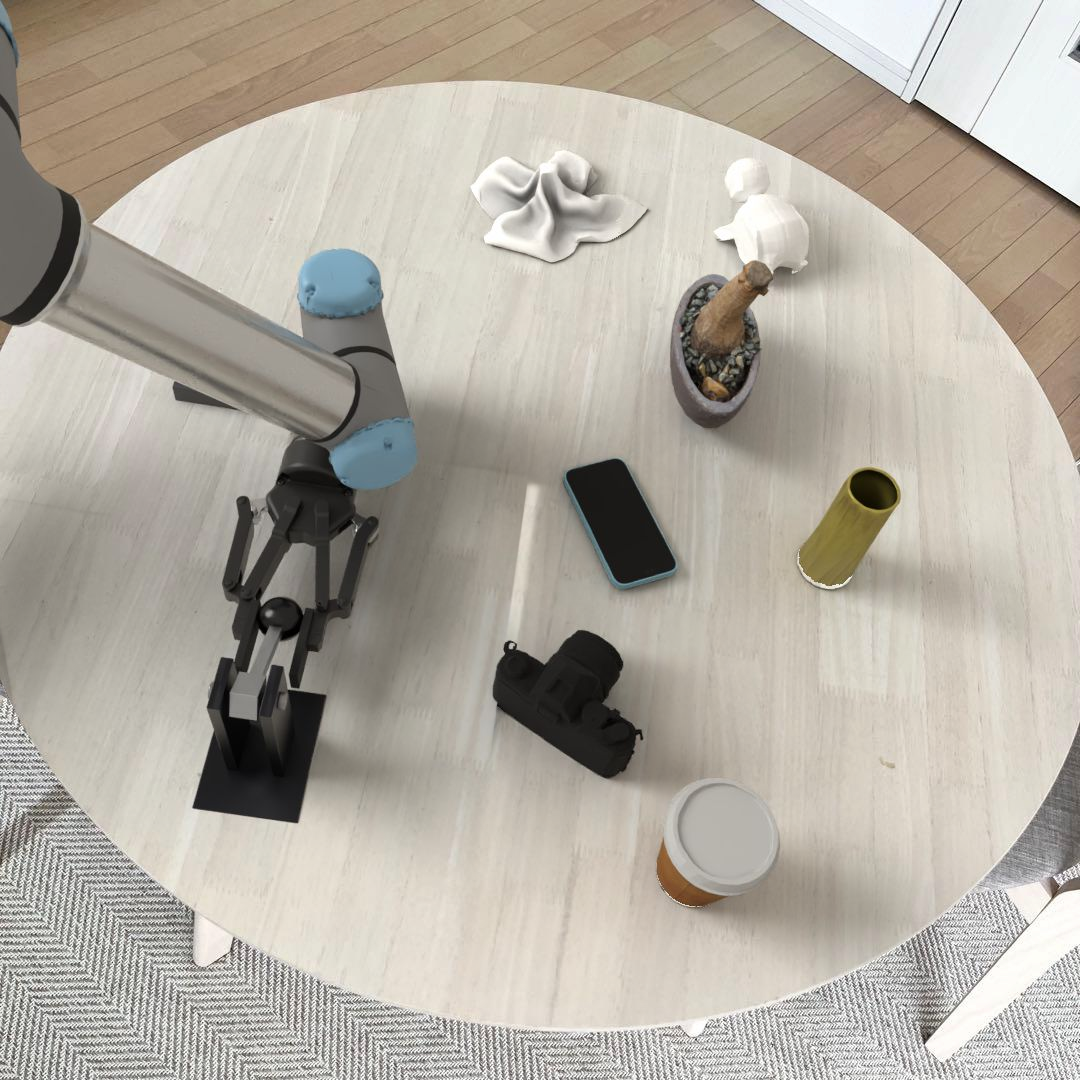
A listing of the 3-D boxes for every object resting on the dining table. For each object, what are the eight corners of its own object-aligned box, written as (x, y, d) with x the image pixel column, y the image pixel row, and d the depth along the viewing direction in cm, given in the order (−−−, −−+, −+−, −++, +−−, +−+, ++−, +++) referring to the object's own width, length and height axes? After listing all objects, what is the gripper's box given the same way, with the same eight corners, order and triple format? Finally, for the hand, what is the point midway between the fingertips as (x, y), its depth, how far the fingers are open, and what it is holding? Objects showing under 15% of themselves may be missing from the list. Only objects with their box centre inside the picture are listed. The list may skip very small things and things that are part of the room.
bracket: (229, 686, 104) (208, 610, 91) (326, 700, 104) (319, 627, 92) (193, 812, 97) (166, 750, 85) (298, 827, 98) (285, 767, 85)
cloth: (497, 273, 135) (501, 235, 129) (449, 169, 143) (451, 128, 138) (666, 242, 141) (677, 204, 135) (610, 144, 149) (619, 104, 144)
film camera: (664, 713, 107) (686, 673, 100) (610, 793, 103) (628, 757, 95) (533, 626, 111) (544, 581, 103) (475, 699, 106) (482, 657, 98)
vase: (783, 560, 118) (829, 483, 106) (821, 530, 121) (870, 452, 109) (827, 601, 116) (879, 527, 104) (864, 569, 119) (919, 494, 107)
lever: (262, 621, 102) (264, 584, 100) (307, 628, 102) (309, 591, 100) (217, 722, 89) (218, 682, 87) (267, 730, 90) (269, 690, 88)
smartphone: (622, 455, 122) (681, 569, 114) (620, 461, 122) (679, 574, 115) (560, 471, 119) (617, 588, 112) (559, 477, 120) (615, 593, 113)
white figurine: (794, 281, 144) (751, 174, 145) (827, 252, 136) (782, 140, 137) (737, 297, 141) (694, 188, 143) (767, 268, 133) (722, 153, 135)
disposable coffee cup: (631, 915, 97) (661, 878, 87) (643, 809, 102) (672, 762, 92) (740, 936, 97) (782, 902, 87) (746, 829, 102) (787, 784, 92)
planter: (697, 468, 123) (747, 346, 106) (603, 365, 129) (637, 234, 112) (794, 412, 129) (856, 288, 112) (701, 316, 135) (746, 185, 118)
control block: (175, 400, 120) (169, 376, 116) (200, 330, 125) (195, 304, 121) (250, 412, 120) (247, 388, 116) (272, 341, 125) (269, 316, 122)
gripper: (411, 493, 113) (366, 709, 100) (239, 466, 112) (173, 680, 100) (412, 449, 106) (365, 674, 94) (231, 420, 106) (159, 643, 93)
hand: (266, 677), depth 97 cm, fingers closed on lever, 4 cm apart
